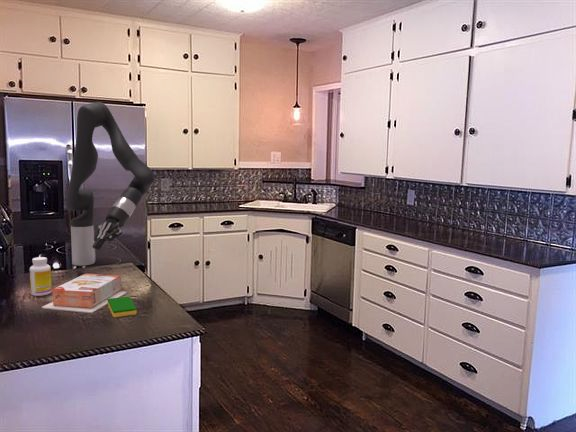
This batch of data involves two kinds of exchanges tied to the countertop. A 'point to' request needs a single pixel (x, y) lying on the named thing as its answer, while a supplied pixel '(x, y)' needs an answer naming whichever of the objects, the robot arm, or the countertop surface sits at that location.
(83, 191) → the robot arm
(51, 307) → the mat
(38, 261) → the supplement bottle
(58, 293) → the cracker box
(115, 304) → the dish sponge
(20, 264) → the countertop surface
